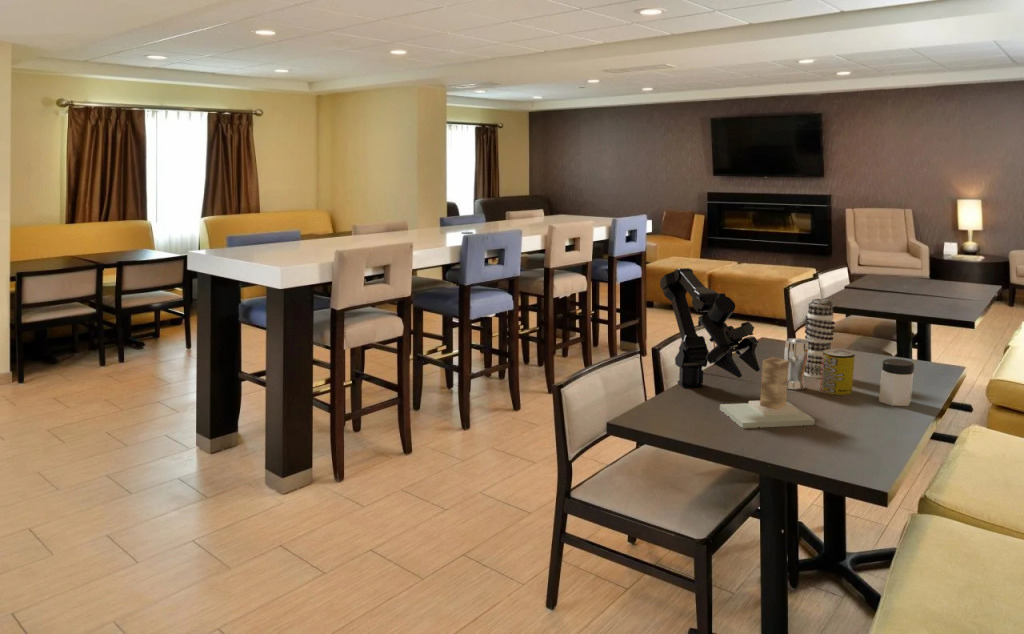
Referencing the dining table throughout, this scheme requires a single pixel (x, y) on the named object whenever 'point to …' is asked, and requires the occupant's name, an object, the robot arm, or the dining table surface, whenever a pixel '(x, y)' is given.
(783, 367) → the pillar block
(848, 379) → the beverage can
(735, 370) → the robot arm
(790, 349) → the beer glass
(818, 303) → the decorative candle
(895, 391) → the jar
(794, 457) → the dining table surface
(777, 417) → the board
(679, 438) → the dining table surface
